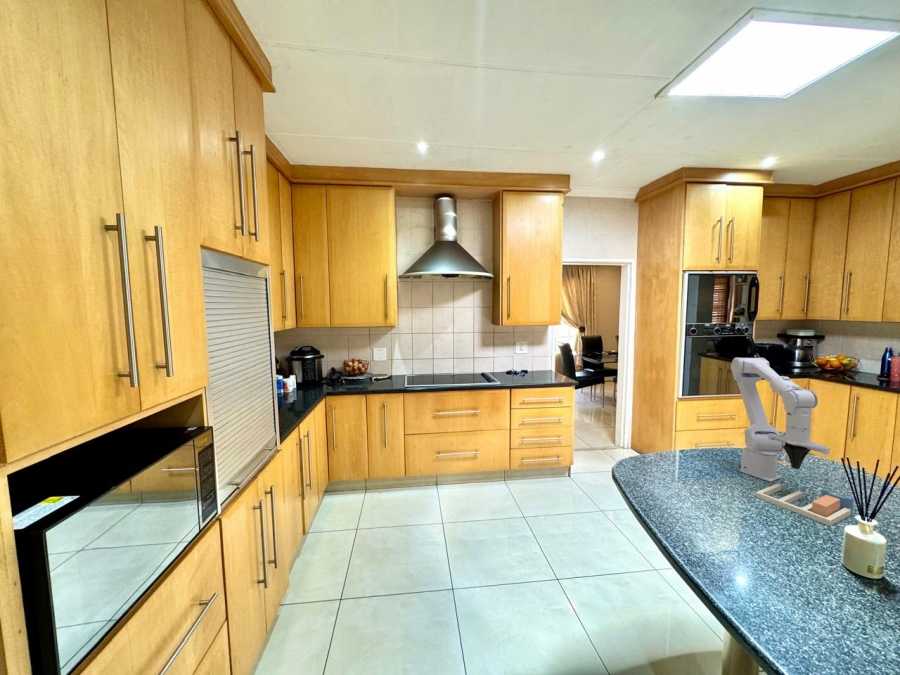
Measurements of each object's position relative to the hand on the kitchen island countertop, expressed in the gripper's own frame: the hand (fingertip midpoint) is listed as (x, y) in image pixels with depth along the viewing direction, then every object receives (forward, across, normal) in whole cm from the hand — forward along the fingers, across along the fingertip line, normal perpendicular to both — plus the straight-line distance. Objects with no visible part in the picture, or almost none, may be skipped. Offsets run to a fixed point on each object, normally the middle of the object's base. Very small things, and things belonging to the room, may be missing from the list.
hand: (795, 467), depth 114 cm
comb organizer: (+9, +4, -5) cm, 11 cm away
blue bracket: (+9, +9, +2) cm, 13 cm away
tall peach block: (+10, +9, -6) cm, 14 cm away
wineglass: (+10, -14, +28) cm, 33 cm away
